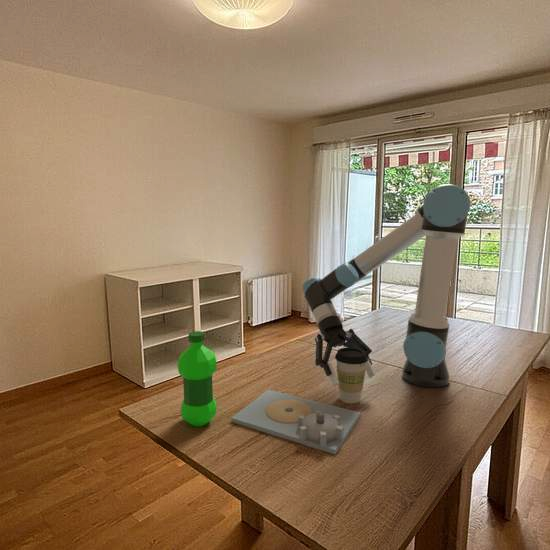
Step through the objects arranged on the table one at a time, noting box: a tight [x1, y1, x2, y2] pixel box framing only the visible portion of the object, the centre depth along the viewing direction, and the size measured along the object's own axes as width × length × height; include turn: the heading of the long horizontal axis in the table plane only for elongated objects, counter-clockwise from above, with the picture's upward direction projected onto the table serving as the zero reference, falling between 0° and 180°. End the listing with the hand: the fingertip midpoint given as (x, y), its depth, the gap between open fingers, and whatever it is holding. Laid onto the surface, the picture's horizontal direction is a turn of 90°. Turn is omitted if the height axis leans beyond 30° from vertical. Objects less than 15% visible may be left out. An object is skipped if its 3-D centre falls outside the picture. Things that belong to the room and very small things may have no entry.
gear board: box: [231, 389, 362, 455], centre depth 107 cm, size 30×20×6 cm
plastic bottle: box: [177, 330, 218, 427], centre depth 104 cm, size 10×10×25 cm
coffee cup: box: [334, 347, 368, 404], centre depth 118 cm, size 10×10×15 cm
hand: (355, 380), depth 116 cm, fingers open, 13 cm apart
